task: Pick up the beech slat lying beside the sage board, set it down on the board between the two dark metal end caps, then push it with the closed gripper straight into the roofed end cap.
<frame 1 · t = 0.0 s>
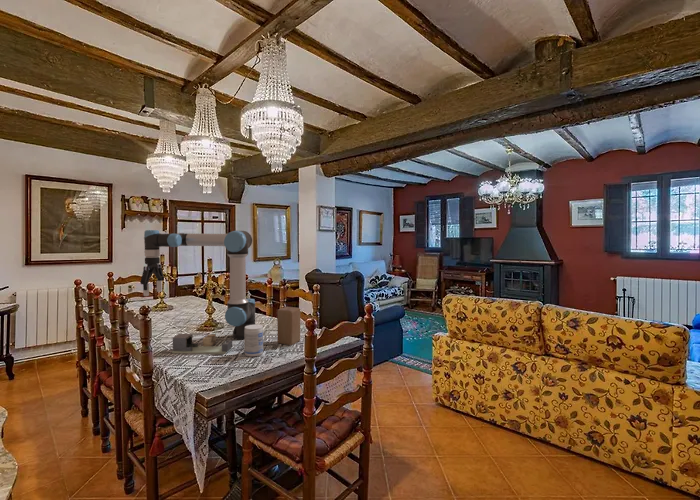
hand: (153, 293, 207), 28 cm above the table, fingers open, 13 cm apart
cap a: (183, 350, 194), resting on board
slat: (209, 345, 204), on the table
supplement tub: (253, 354, 189), on the table
wooden block: (288, 342, 209), on the table
board: (202, 350, 194), on the table
cap b: (226, 351, 193), resting on board
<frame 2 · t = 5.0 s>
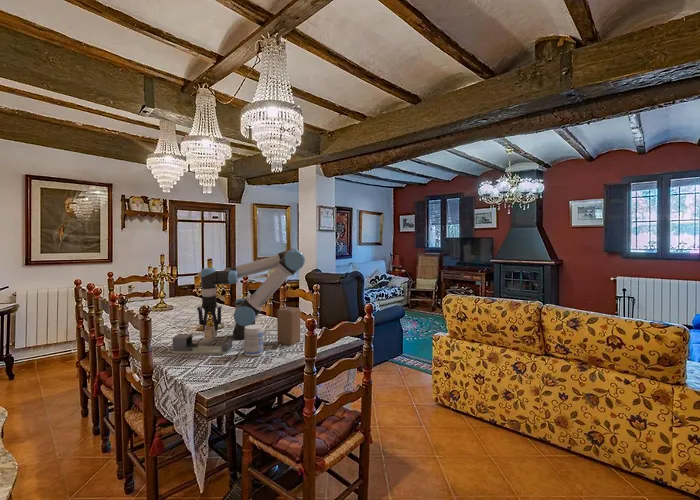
hand: (210, 336, 203), 5 cm above the table, fingers closed on slat, 4 cm apart
slat: (210, 337, 203), point 4 cm above the table, touching gripper
everything else where it was.
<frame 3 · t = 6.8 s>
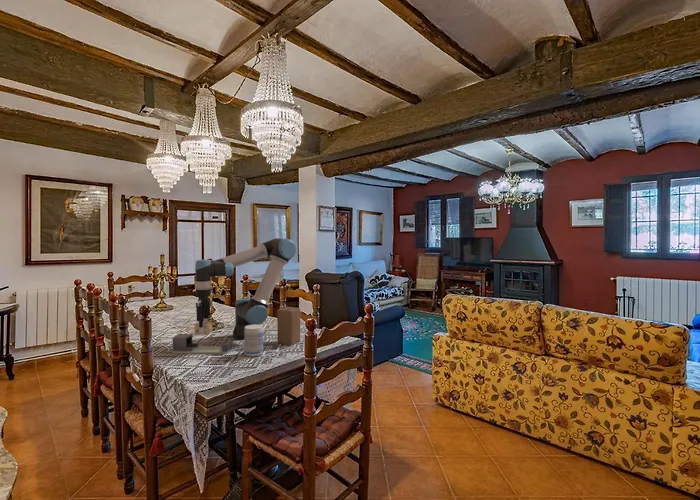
hand: (203, 331, 193), 10 cm above the table, fingers closed on slat, 4 cm apart
slat: (203, 332, 193), point 10 cm above the table, touching gripper
everything else where it was.
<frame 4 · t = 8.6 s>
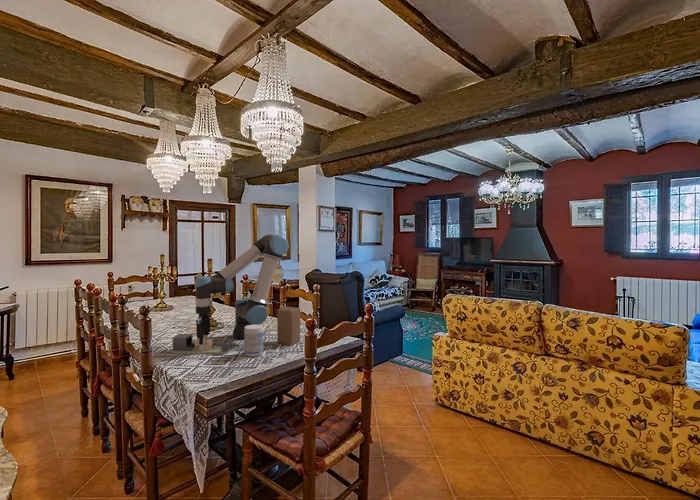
hand: (203, 348, 193), 1 cm above the table, fingers closed on slat, 4 cm apart
slat: (203, 348, 193), point 1 cm above the table, touching board, gripper
everything else where it was.
when the fingers open (1 cm above the table, at t = 8.6 s): slat stays where it is, resting on board.
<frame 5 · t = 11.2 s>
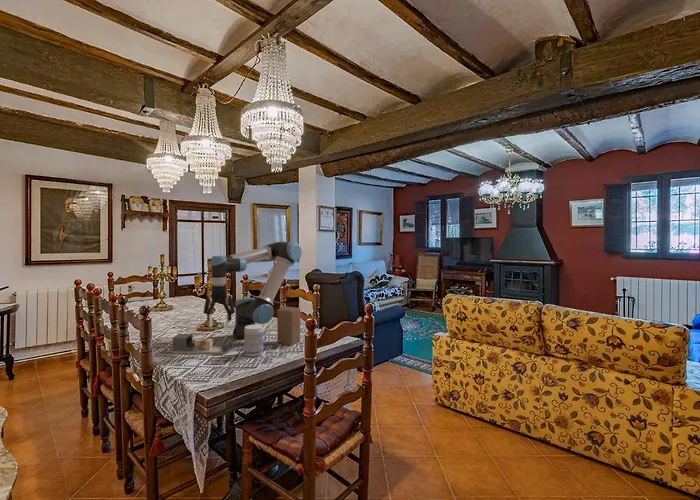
hand: (219, 326, 193), 13 cm above the table, fingers open, 9 cm apart
slat: (203, 348, 193), point 1 cm above the table, touching board
everything else where it was.
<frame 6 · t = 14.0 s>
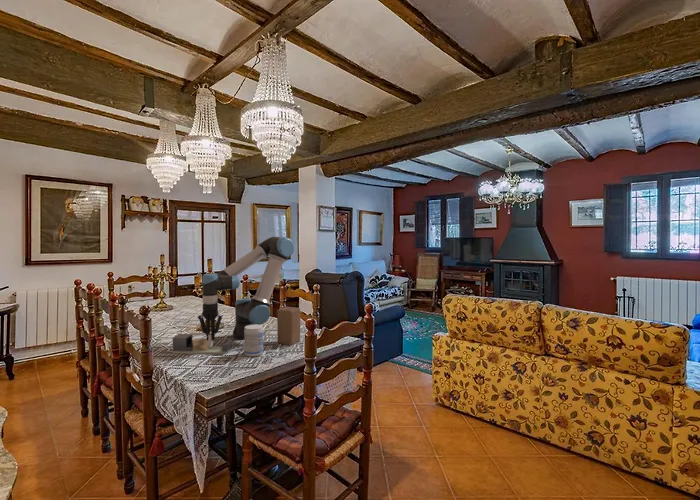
hand: (210, 346, 193), 3 cm above the table, fingers closed
slat: (202, 348, 193), point 1 cm above the table, touching gripper
everything else where it was.
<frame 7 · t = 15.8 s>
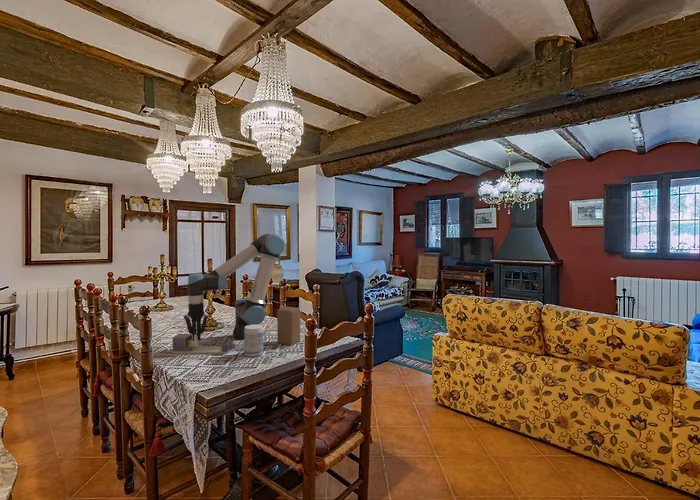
hand: (196, 345, 193), 3 cm above the table, fingers closed
slat: (188, 348, 194), point 1 cm above the table, touching board, gripper
everything else where it was.
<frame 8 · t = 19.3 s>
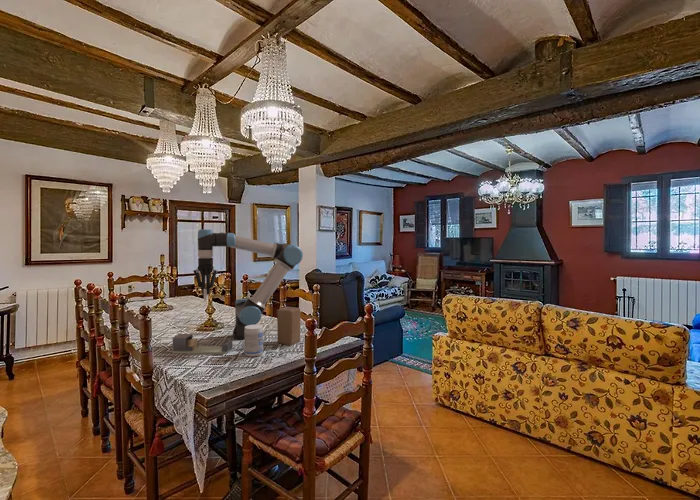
hand: (206, 300, 198), 26 cm above the table, fingers closed
slat: (188, 348, 194), point 1 cm above the table, touching board
everything else where it was.
at the end: slat 0.6 cm from the target spot on the cap a, point 1.0 cm above the cap a's base; the gripper is holding nothing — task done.
